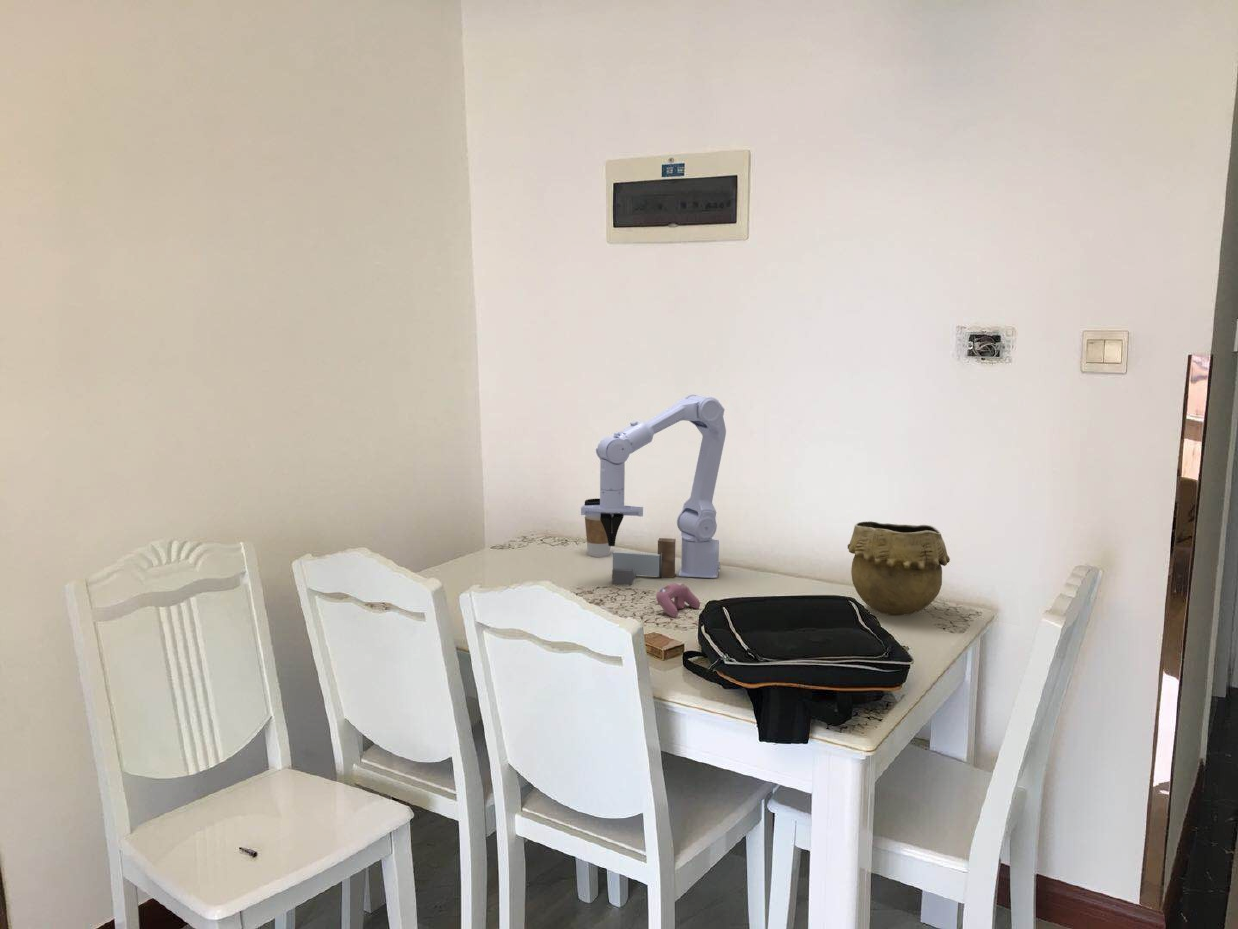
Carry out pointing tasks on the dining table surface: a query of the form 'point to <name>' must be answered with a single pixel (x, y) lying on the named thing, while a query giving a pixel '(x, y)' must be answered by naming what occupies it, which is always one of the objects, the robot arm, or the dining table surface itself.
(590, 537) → the coffee cup
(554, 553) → the dining table surface
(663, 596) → the video game controller
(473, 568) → the dining table surface
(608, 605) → the dining table surface
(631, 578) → the grey stepped block
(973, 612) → the dining table surface
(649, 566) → the door leaf
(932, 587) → the clay pot
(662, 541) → the door post
